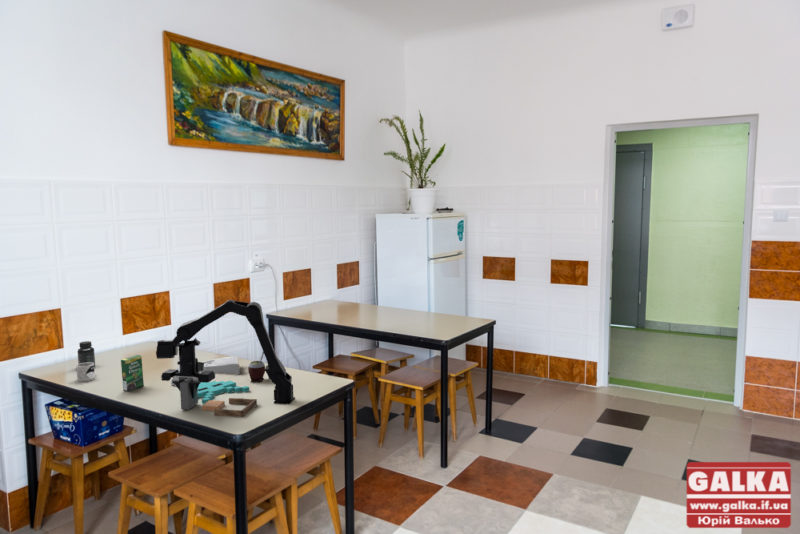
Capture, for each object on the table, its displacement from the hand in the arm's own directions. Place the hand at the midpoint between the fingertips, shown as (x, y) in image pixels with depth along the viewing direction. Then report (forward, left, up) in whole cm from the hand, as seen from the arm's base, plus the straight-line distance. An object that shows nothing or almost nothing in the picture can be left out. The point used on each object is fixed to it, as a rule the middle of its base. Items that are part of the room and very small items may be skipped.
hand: (189, 398), depth 219 cm
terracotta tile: (-9, -1, -4) cm, 10 cm away
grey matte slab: (0, 0, -3) cm, 3 cm away
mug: (+62, -27, -4) cm, 68 cm away
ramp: (+11, -47, -4) cm, 48 cm away
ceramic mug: (+17, -27, -4) cm, 32 cm away
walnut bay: (-18, 0, -4) cm, 18 cm away
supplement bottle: (+73, -41, -4) cm, 84 cm away
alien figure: (-1, -17, -4) cm, 17 cm away
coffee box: (+34, -17, -4) cm, 38 cm away
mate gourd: (-13, -34, -4) cm, 37 cm away
